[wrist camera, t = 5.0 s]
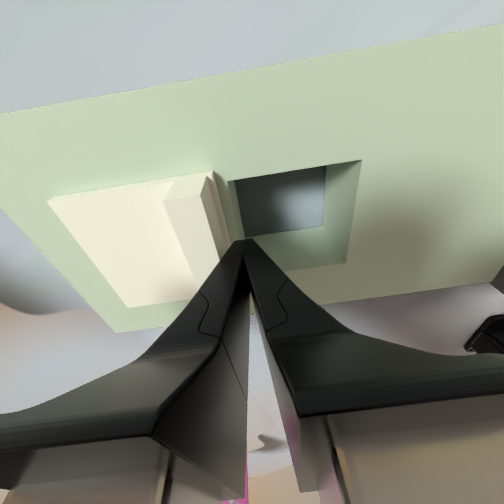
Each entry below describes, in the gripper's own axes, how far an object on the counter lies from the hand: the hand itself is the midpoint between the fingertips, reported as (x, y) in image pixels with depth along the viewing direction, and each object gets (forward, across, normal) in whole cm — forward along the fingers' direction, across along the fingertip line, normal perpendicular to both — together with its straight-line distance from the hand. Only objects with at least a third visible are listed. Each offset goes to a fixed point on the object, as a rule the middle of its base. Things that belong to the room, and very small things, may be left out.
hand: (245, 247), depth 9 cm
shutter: (+1, +4, 0) cm, 4 cm away
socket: (+5, -2, 0) cm, 6 cm away
